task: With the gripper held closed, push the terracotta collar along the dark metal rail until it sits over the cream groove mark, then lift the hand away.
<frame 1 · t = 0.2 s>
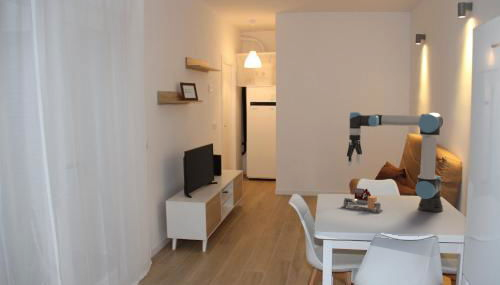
hand: (354, 164, 305), 28 cm above the table, fingers open, 13 cm apart
rail: (361, 209, 292), on the table
collar: (372, 202, 287), point 6 cm above the table, slide at 0.0 cm
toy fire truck: (362, 203, 310), on the table
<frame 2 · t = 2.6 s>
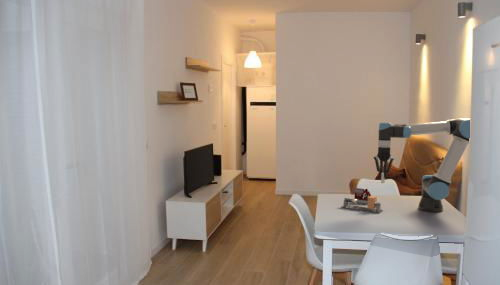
hand: (382, 182, 282), 20 cm above the table, fingers closed
nothing on the table moved.
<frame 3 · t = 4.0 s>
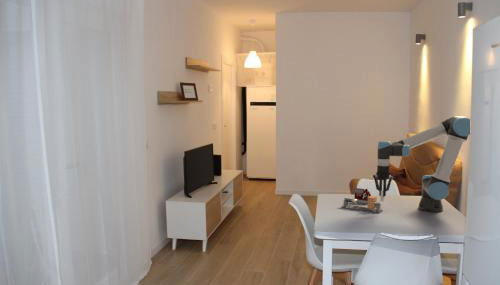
hand: (382, 201, 283), 8 cm above the table, fingers closed
nothing on the table moved.
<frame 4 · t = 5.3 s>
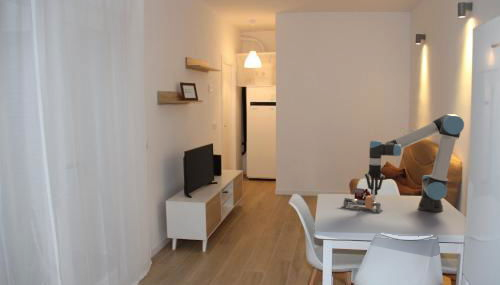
hand: (374, 199, 286), 8 cm above the table, fingers closed
collar: (369, 202, 288), point 6 cm above the table, slide at 1.5 cm, touching gripper
everything else where it was.
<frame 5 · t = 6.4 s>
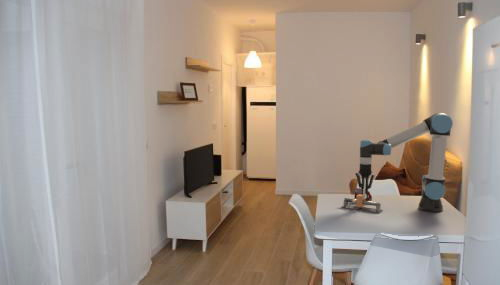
hand: (364, 198, 290), 8 cm above the table, fingers closed
collar: (360, 200, 292), point 6 cm above the table, slide at 7.9 cm, touching gripper
everything else where it was.
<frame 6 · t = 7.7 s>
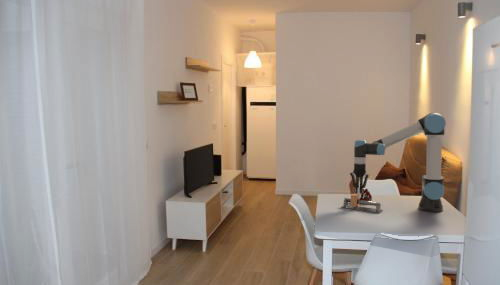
hand: (359, 197, 292), 8 cm above the table, fingers closed
collar: (355, 200, 294), point 6 cm above the table, slide at 11.7 cm, touching gripper
everything else where it was.
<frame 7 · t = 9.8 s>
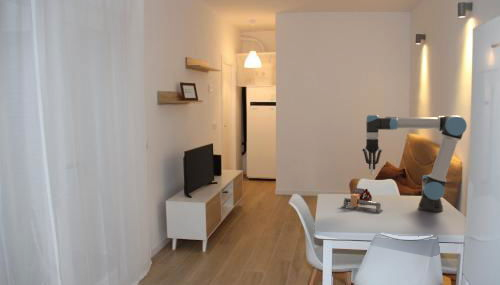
hand: (372, 174, 288), 24 cm above the table, fingers closed
collar: (355, 200, 294), point 6 cm above the table, slide at 11.7 cm
everything else where it was.
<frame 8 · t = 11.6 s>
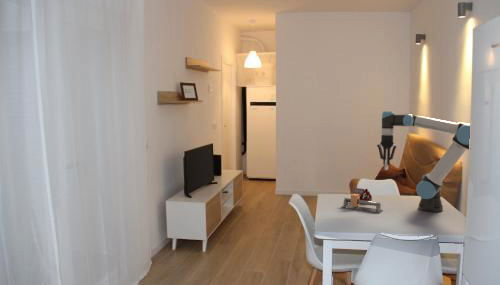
hand: (386, 169, 292), 26 cm above the table, fingers closed
nothing on the table moved.
at the end: collar slide at 11.7 cm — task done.
